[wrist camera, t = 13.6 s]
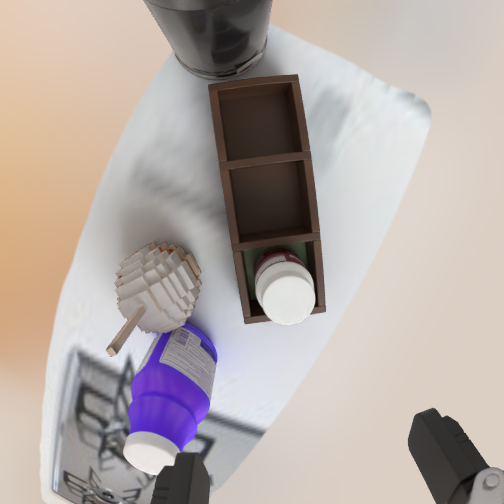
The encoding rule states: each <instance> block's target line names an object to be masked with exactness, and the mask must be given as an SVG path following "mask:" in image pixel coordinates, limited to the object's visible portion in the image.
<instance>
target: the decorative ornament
mask: <svg viewBox="0 0 504 504" xmlns="http://www.w3.org/2000/svg"><path fill="white" fill-rule="evenodd" d="M120 266H121V268H122V269H120V270H119V271H118V272H117V273H116V275H117V277H118V278H117V280H116V281H115V282H114V283H115V285H116V287H117V289H116V290H115V291H116V293H117V294H118V296H119V297H118V298H117V299H118V301H119V302H118V303H117V304H118V306H119V308H118V309H119V310H120V312H121V314H122V315H123V317H124V318H127V319H128V321H127V322H126V323H125V325H124V326H123V327H122V329H121V330H120V331H119V333H118V334H117V335H116V337H115V338H114V339H113V341H112V342H111V344H110V345H109V346H108V348H107V349H106V351H107V352H108V354H109V355H110V357H112V356H114V355H117V353H118V352H119V350H120V349H121V347H122V346H123V344H124V343H125V341H126V340H127V338H128V337H129V335H130V334H131V332H132V331H133V329H134V328H135V326H136V325H138V327H139V328H140V330H141V331H144V330H145V332H146V333H149V332H151V331H152V332H153V333H154V332H156V331H157V332H158V333H159V334H161V333H163V332H165V333H167V332H169V331H172V330H174V329H176V328H178V327H181V326H183V325H185V322H186V320H187V317H189V316H191V315H192V312H193V310H194V307H195V303H196V300H197V299H198V293H199V292H200V289H199V286H201V285H202V282H201V281H200V279H199V277H198V275H199V274H201V270H200V268H199V267H198V265H197V263H196V261H195V260H194V258H193V256H192V254H191V253H190V254H188V255H186V254H185V253H184V251H183V249H182V247H181V246H179V247H177V248H176V247H175V246H174V244H171V245H169V246H168V244H167V242H166V241H165V242H163V243H162V244H160V245H158V246H157V245H156V243H155V242H152V243H151V244H149V245H147V246H145V247H144V248H142V249H140V250H138V251H137V252H136V253H135V254H134V255H132V256H130V257H129V258H127V259H126V260H124V261H122V262H121V263H120Z"/></svg>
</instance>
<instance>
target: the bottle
mask: <svg viewBox="0 0 504 504" xmlns="http://www.w3.org/2000/svg"><path fill="white" fill-rule="evenodd" d="M216 363H217V352H216V349H215V347H214V346H213V344H212V343H211V341H210V340H209V339H208V338H207V337H206V336H205V335H204V334H203V333H202V332H201V331H200V330H198V329H197V328H195V327H194V326H192V325H190V324H188V323H186V322H185V325H183V326H181V327H178V328H176V329H174V330H172V331H169V332H167V333H165V332H163V333H161V334H159V333H158V335H157V337H156V338H155V339H154V341H153V343H152V344H151V346H150V348H149V350H148V352H147V353H146V355H145V357H144V359H143V361H142V363H141V365H140V366H139V368H138V370H137V372H136V374H135V376H134V379H133V382H132V387H131V391H132V399H133V401H132V403H131V404H130V406H129V410H128V416H129V420H130V423H131V429H130V432H129V436H128V437H127V440H126V444H125V447H124V450H123V453H124V456H125V458H126V459H127V461H128V462H130V463H131V464H132V465H133V466H134V467H136V468H137V469H139V470H141V471H143V472H146V473H149V474H153V475H158V474H159V473H160V471H161V470H162V469H163V467H164V466H165V465H167V466H174V462H175V457H176V454H177V453H182V450H183V448H184V446H185V445H186V444H187V443H188V442H190V441H191V440H192V439H193V438H194V436H195V435H196V433H197V425H198V424H199V423H200V422H201V421H202V420H203V419H204V418H205V415H206V414H207V412H208V410H209V407H210V400H211V395H212V388H213V382H214V375H215V369H216Z"/></svg>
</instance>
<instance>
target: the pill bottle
mask: <svg viewBox="0 0 504 504" xmlns="http://www.w3.org/2000/svg"><path fill="white" fill-rule="evenodd" d="M254 275H255V291H256V297H257V299H258V302H259V303H260V305H261V306H262V308H263V310H264V312H265V314H266V315H267V316H268V318H270V319H271V320H272V321H274V322H276V323H278V324H281V325H293V324H297V323H299V322H301V321H303V320H304V319H306V318H307V317H308V316H309V315H310V313H311V312H312V310H313V308H314V305H315V293H314V284H313V280H312V277H311V274H310V273H309V271H308V270H307V269H306V267H305V266H304V264H303V262H302V261H301V259H300V258H299V257H298V255H297V254H296V253H295V252H294V251H292V250H291V249H289V248H286V247H281V246H277V247H272V248H269V249H267V250H265V251H264V252H262V253H261V255H260V256H259V257H258V259H257V261H256V263H255V268H254Z"/></svg>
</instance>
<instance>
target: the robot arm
mask: <svg viewBox="0 0 504 504" xmlns="http://www.w3.org/2000/svg"><path fill="white" fill-rule="evenodd" d="M143 1H144V2H145V4H146V5H147V7H148V9H149V10H150V12H151V13H152V15H153V17H154V18H155V20H156V21H157V23H158V25H159V27H160V28H161V30H162V32H163V33H164V35H165V37H166V38H167V40H168V41H169V43H170V45H171V47H172V49H173V50H174V52H175V55H176V57H177V59H178V60H179V62H180V63H181V65H182V66H183V67H184V68H185V69H186V70H187V71H189V72H190V73H192V74H194V75H196V76H198V77H201V78H205V79H211V80H223V79H229V78H233V77H236V76H239V75H241V74H243V73H245V72H247V71H249V70H250V69H251V68H253V67H254V66H255V65H256V64H257V63H258V62H259V60H260V59H261V57H262V56H263V54H264V51H265V48H266V43H267V31H268V25H269V19H270V12H271V6H272V0H143ZM408 446H409V450H410V452H411V454H412V456H413V458H414V460H415V462H416V464H417V466H418V468H419V470H420V472H421V474H422V476H423V478H424V480H425V481H426V484H427V486H428V488H429V490H430V492H431V494H432V496H433V498H434V500H435V502H436V504H504V471H502V470H501V469H499V468H494V467H490V466H488V465H487V463H486V462H485V460H484V459H483V457H482V456H481V455H480V453H479V452H478V450H477V449H476V447H475V446H474V444H473V443H472V442H471V440H469V437H468V436H467V435H466V433H464V431H463V429H462V428H461V426H460V425H459V424H458V422H456V421H455V420H453V419H452V418H450V417H449V416H445V417H443V418H442V417H441V415H440V414H439V413H438V411H437V410H436V409H435V408H431V409H428V410H426V411H423V412H420V413H418V414H416V415H415V416H414V419H413V423H412V427H411V430H410V434H409V437H408ZM209 492H210V479H209V475H208V472H207V470H206V468H205V466H204V463H203V461H202V459H201V457H200V455H199V453H197V452H196V453H177V454H176V457H175V462H174V466H167V465H165V466H164V467H163V469H162V470H161V471H160V473H159V474H158V475H157V479H156V483H155V489H154V491H153V495H152V496H153V498H152V500H151V504H209Z"/></svg>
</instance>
